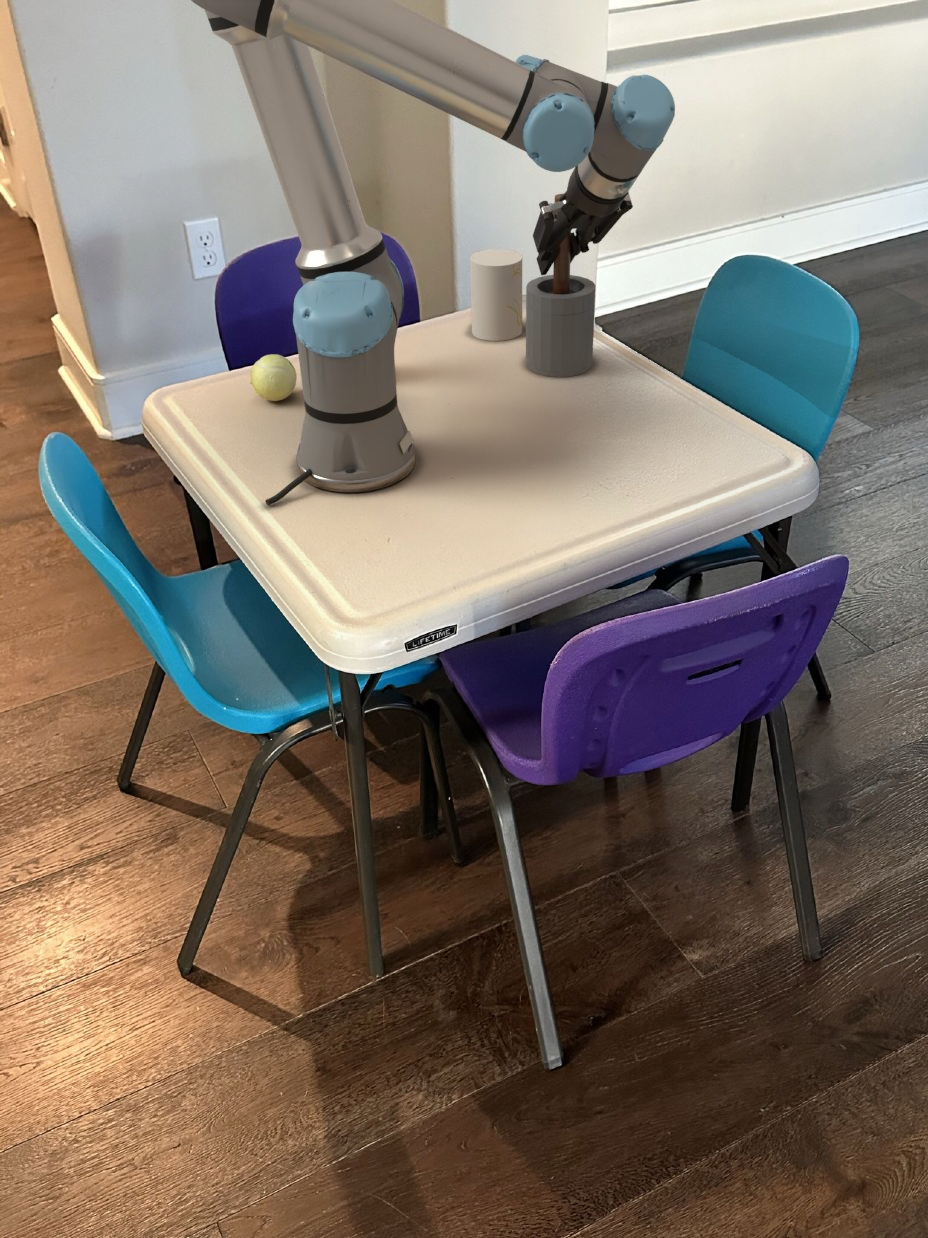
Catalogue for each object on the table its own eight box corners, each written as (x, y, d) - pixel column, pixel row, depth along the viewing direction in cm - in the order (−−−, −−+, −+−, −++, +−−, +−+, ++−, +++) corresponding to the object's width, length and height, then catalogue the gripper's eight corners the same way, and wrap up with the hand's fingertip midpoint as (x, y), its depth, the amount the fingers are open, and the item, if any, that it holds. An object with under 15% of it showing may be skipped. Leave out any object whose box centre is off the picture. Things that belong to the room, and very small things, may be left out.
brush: (561, 341, 166) (564, 202, 154) (538, 333, 169) (539, 196, 157) (582, 332, 168) (586, 194, 157) (559, 325, 171) (561, 189, 159)
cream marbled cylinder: (522, 340, 179) (522, 265, 172) (471, 341, 179) (469, 266, 172) (521, 321, 186) (521, 248, 179) (472, 322, 186) (470, 249, 179)
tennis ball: (301, 406, 162) (295, 362, 158) (254, 411, 161) (247, 367, 157) (297, 387, 167) (292, 344, 163) (252, 392, 166) (245, 349, 162)
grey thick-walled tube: (562, 382, 166) (564, 303, 159) (512, 364, 171) (512, 287, 164) (605, 362, 171) (609, 284, 164) (556, 345, 177) (557, 269, 170)
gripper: (556, 209, 141) (508, 296, 164) (666, 194, 145) (605, 280, 168) (540, 155, 142) (495, 248, 165) (650, 141, 146) (591, 234, 169)
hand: (550, 264), depth 166 cm, fingers closed on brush, 2 cm apart
